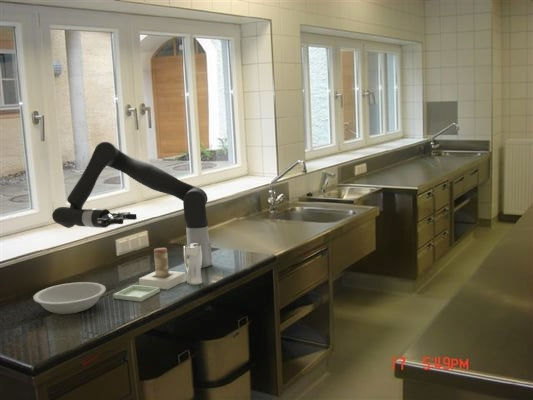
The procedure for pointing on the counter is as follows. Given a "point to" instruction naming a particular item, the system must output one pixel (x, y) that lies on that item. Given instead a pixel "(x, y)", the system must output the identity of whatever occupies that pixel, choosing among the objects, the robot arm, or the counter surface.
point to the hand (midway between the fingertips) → (129, 218)
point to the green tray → (136, 293)
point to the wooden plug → (161, 263)
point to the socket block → (163, 280)
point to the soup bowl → (69, 297)
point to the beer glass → (193, 263)
